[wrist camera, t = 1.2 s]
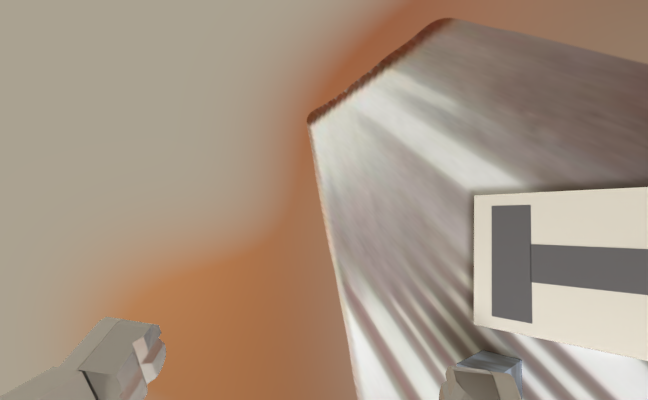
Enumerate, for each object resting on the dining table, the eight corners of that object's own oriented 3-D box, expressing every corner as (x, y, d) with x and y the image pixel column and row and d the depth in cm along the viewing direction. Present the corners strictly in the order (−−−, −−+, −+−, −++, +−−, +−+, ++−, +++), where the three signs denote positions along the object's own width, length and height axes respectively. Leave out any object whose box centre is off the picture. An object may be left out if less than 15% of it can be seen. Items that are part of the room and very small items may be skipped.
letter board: (687, 186, 34) (688, 184, 33) (699, 368, 32) (700, 372, 31) (477, 196, 48) (474, 195, 47) (477, 323, 46) (473, 324, 45)
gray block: (521, 360, 42) (499, 376, 36) (521, 399, 41) (499, 421, 36) (483, 350, 45) (457, 363, 39) (483, 386, 44) (456, 405, 39)
